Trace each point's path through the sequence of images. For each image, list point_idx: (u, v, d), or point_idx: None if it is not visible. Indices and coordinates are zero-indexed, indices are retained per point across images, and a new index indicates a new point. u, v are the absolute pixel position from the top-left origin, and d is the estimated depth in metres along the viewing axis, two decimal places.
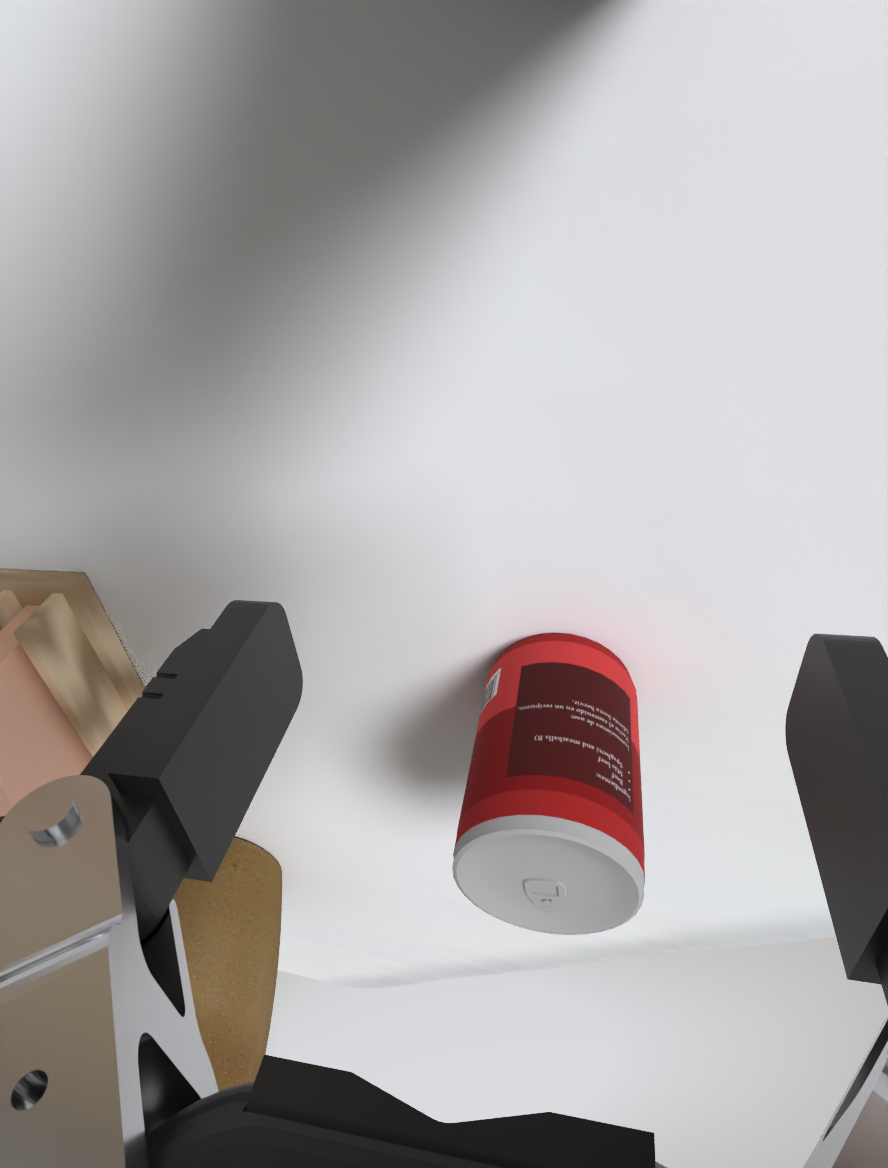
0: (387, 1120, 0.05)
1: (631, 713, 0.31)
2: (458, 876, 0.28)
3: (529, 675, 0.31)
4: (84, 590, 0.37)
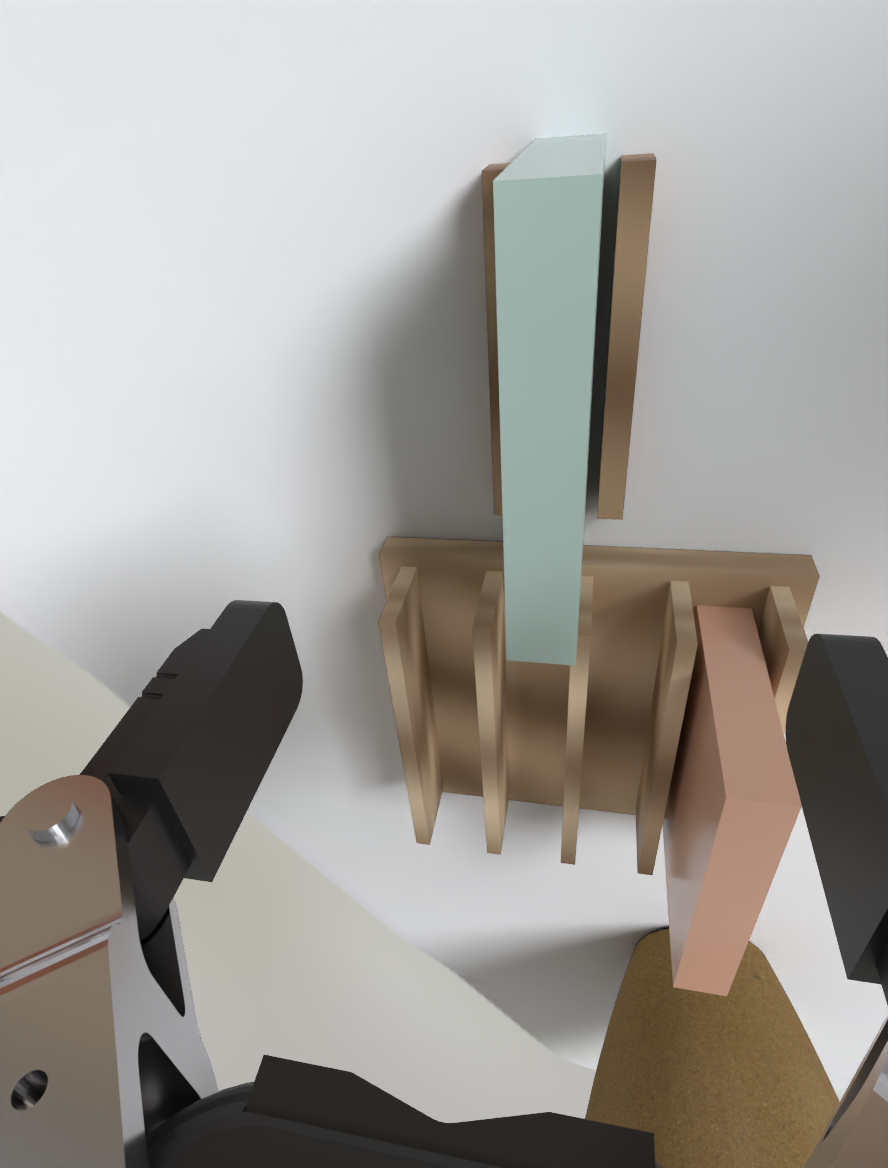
0: (387, 1120, 0.05)
1: None
2: None
3: None
4: None
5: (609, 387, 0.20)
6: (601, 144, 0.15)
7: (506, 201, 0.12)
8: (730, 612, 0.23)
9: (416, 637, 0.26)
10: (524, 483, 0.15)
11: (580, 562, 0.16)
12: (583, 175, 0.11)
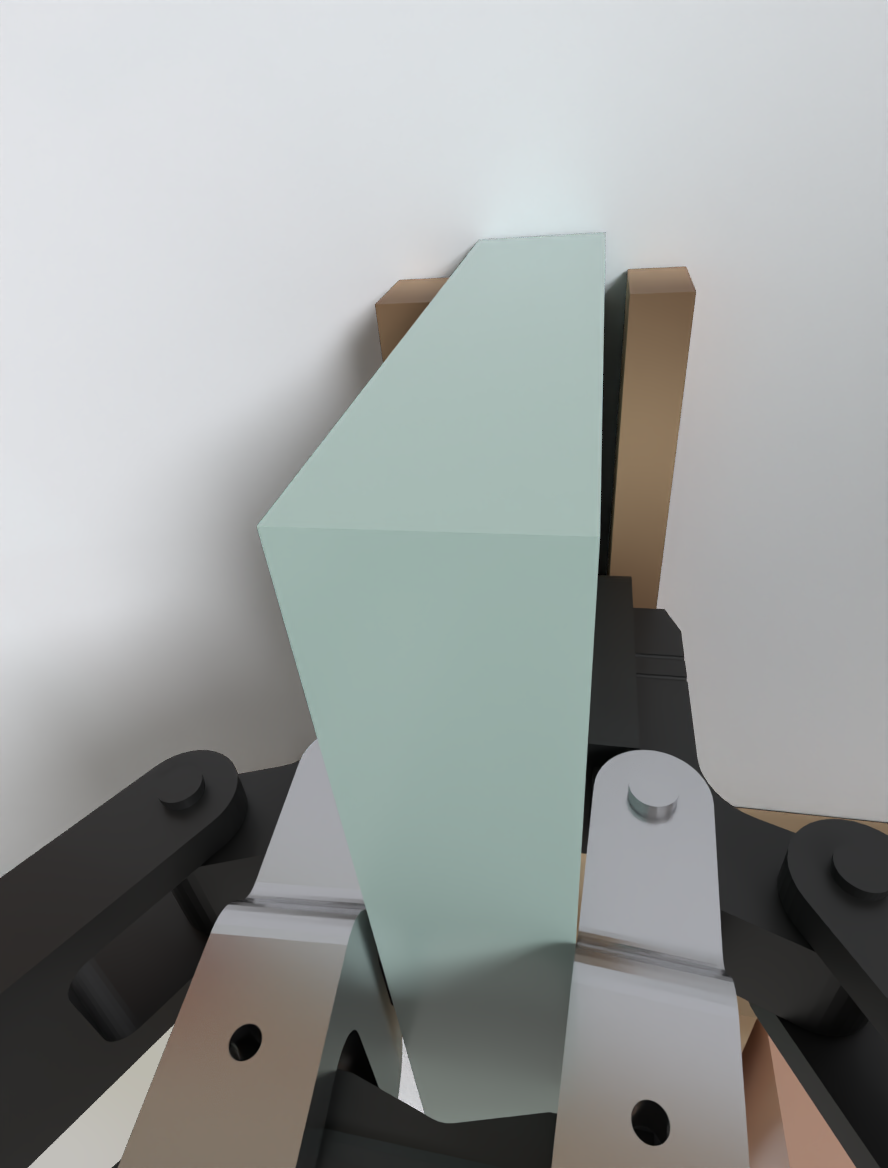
0: (387, 1119, 0.05)
1: None
2: None
3: None
4: None
5: None
6: (596, 282, 0.07)
7: (307, 576, 0.04)
8: None
9: None
10: (440, 1010, 0.07)
11: None
12: (536, 533, 0.03)
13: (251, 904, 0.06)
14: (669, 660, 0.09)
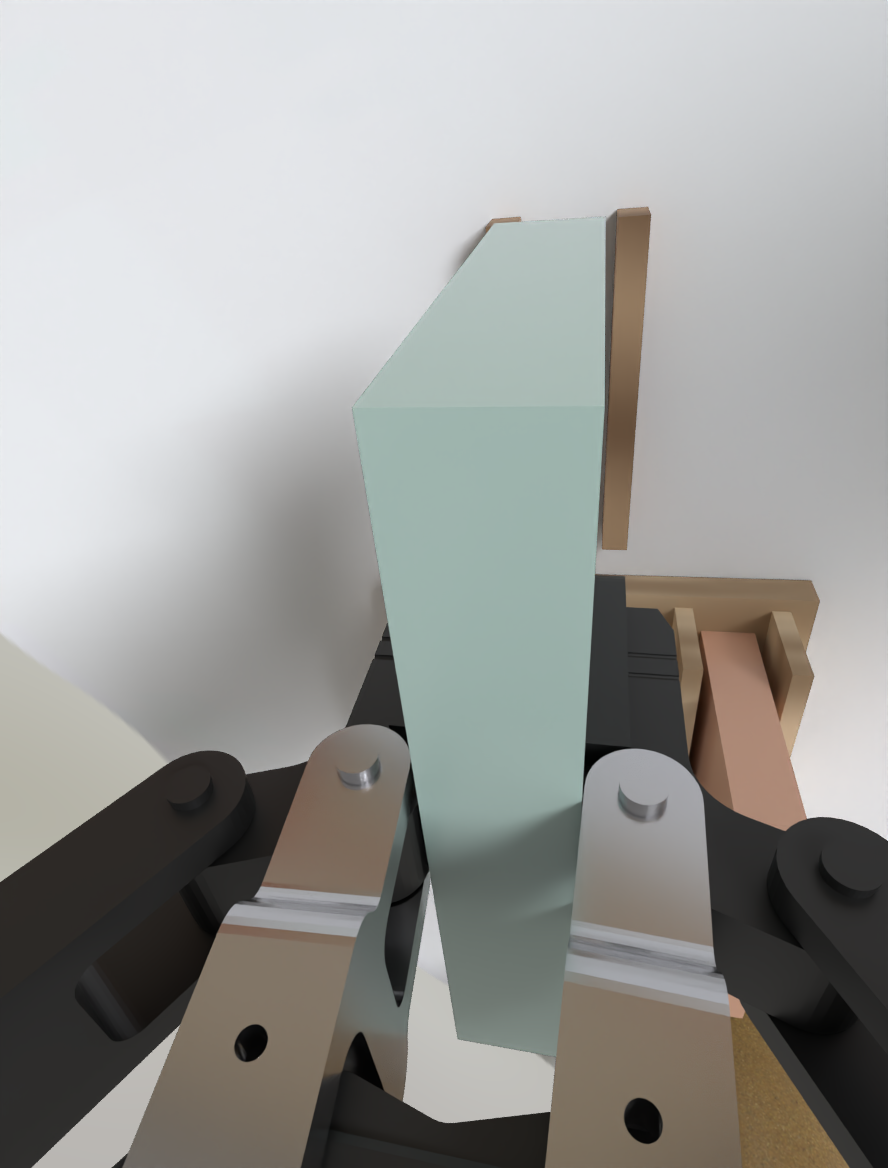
0: (387, 1119, 0.05)
1: None
2: None
3: None
4: None
5: (611, 425, 0.20)
6: (598, 253, 0.09)
7: (386, 448, 0.05)
8: (734, 637, 0.24)
9: None
10: (468, 862, 0.08)
11: None
12: (558, 406, 0.05)
13: (258, 904, 0.06)
14: (662, 659, 0.09)
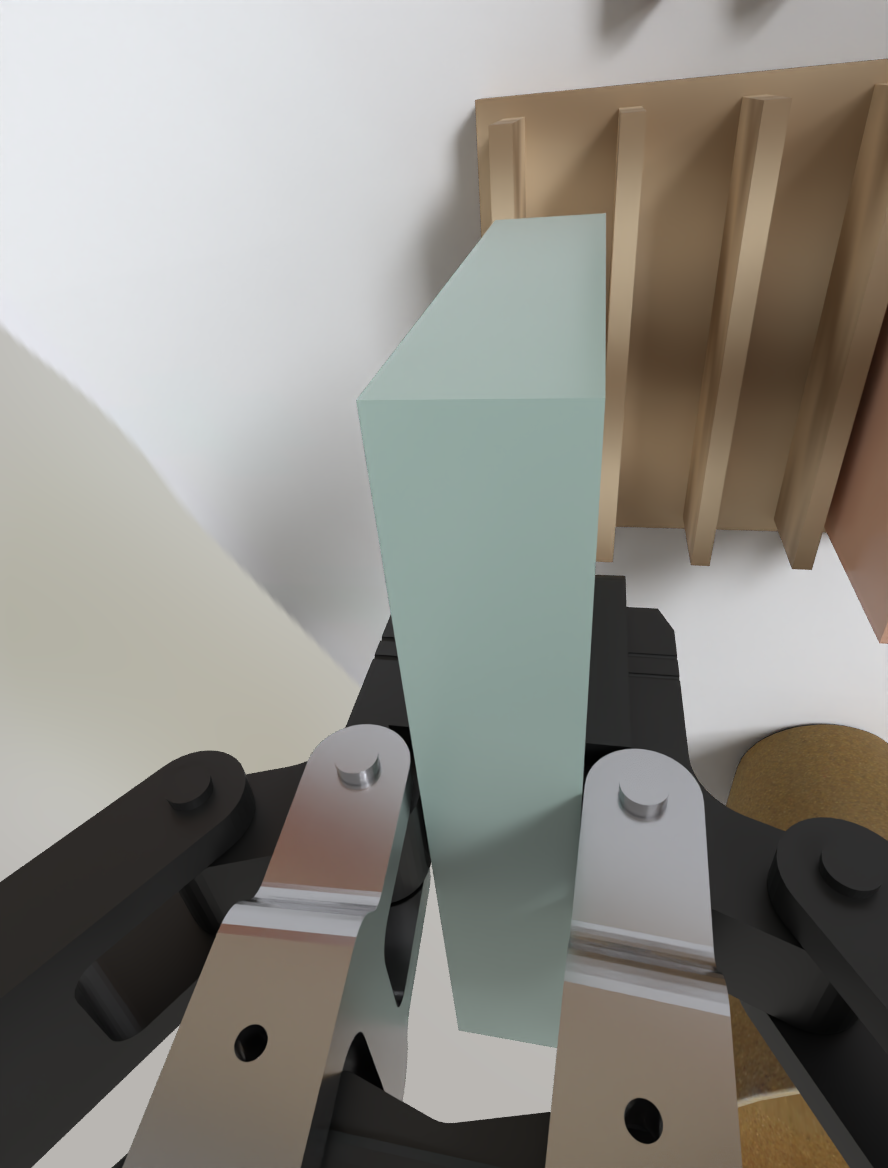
0: (387, 1120, 0.05)
1: None
2: None
3: None
4: None
5: None
6: (598, 249, 0.09)
7: (390, 440, 0.05)
8: None
9: None
10: (468, 853, 0.08)
11: None
12: (559, 398, 0.05)
13: (257, 904, 0.06)
14: (662, 659, 0.09)
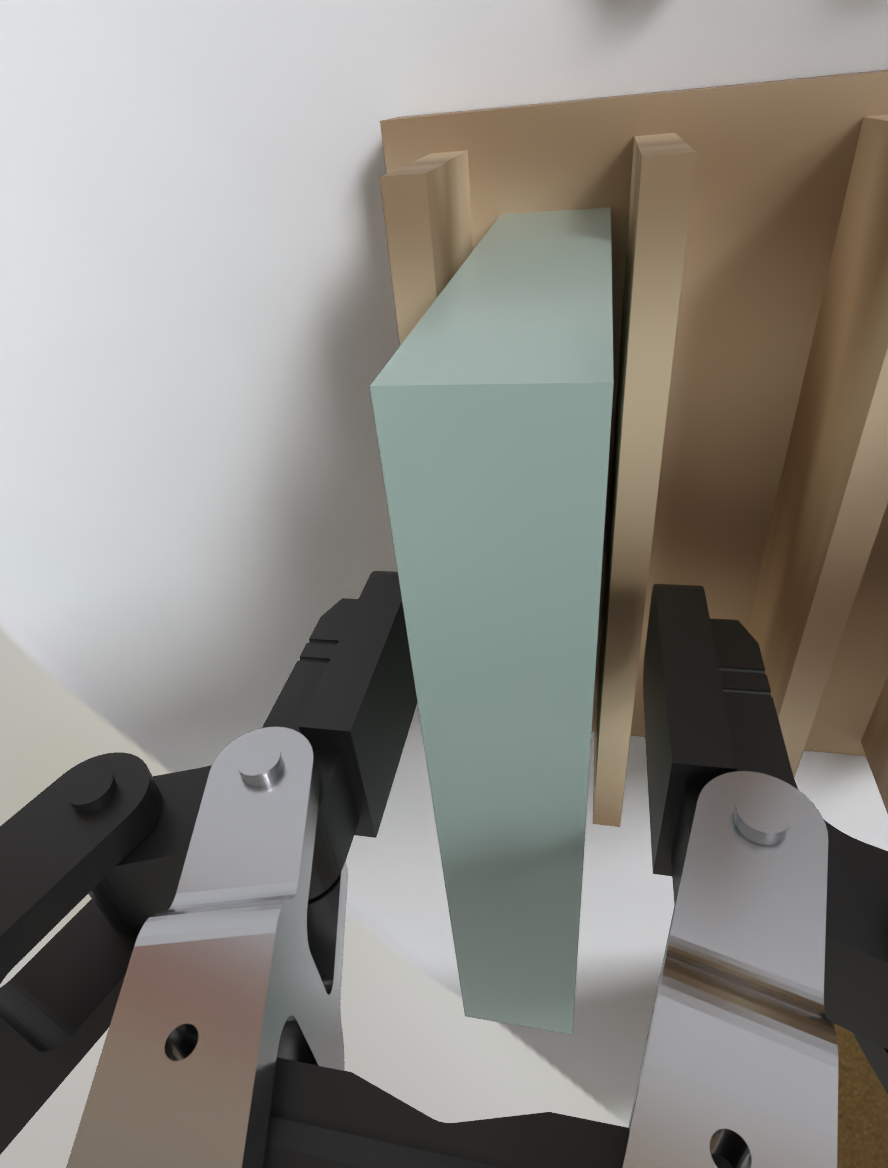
0: (387, 1119, 0.05)
1: None
2: None
3: None
4: None
5: None
6: (604, 241, 0.09)
7: (402, 425, 0.05)
8: None
9: None
10: (477, 837, 0.08)
11: (576, 934, 0.09)
12: (569, 383, 0.05)
13: (173, 913, 0.06)
14: (750, 673, 0.09)
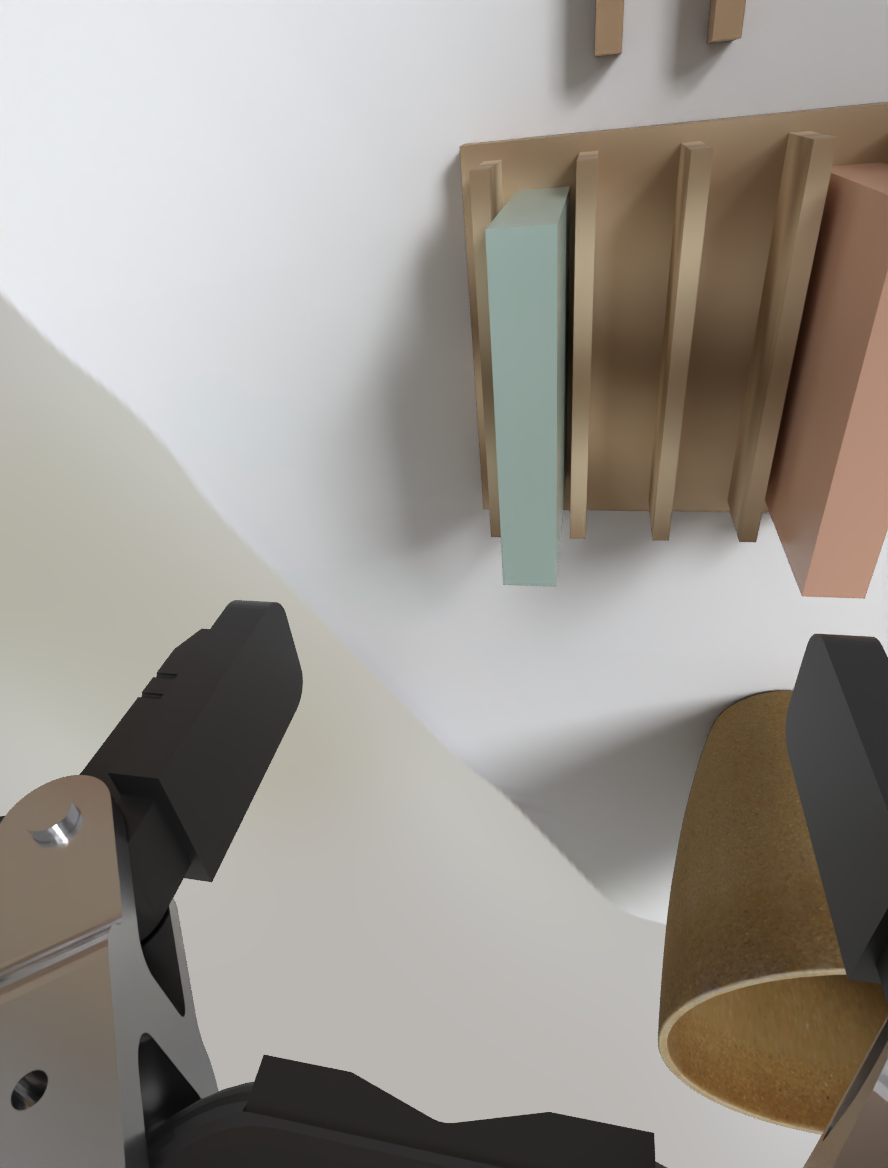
0: (387, 1120, 0.05)
1: None
2: None
3: None
4: None
5: None
6: (563, 197, 0.21)
7: (494, 242, 0.17)
8: (856, 165, 0.21)
9: None
10: (512, 441, 0.20)
11: (555, 501, 0.21)
12: (544, 225, 0.17)
13: None
14: None
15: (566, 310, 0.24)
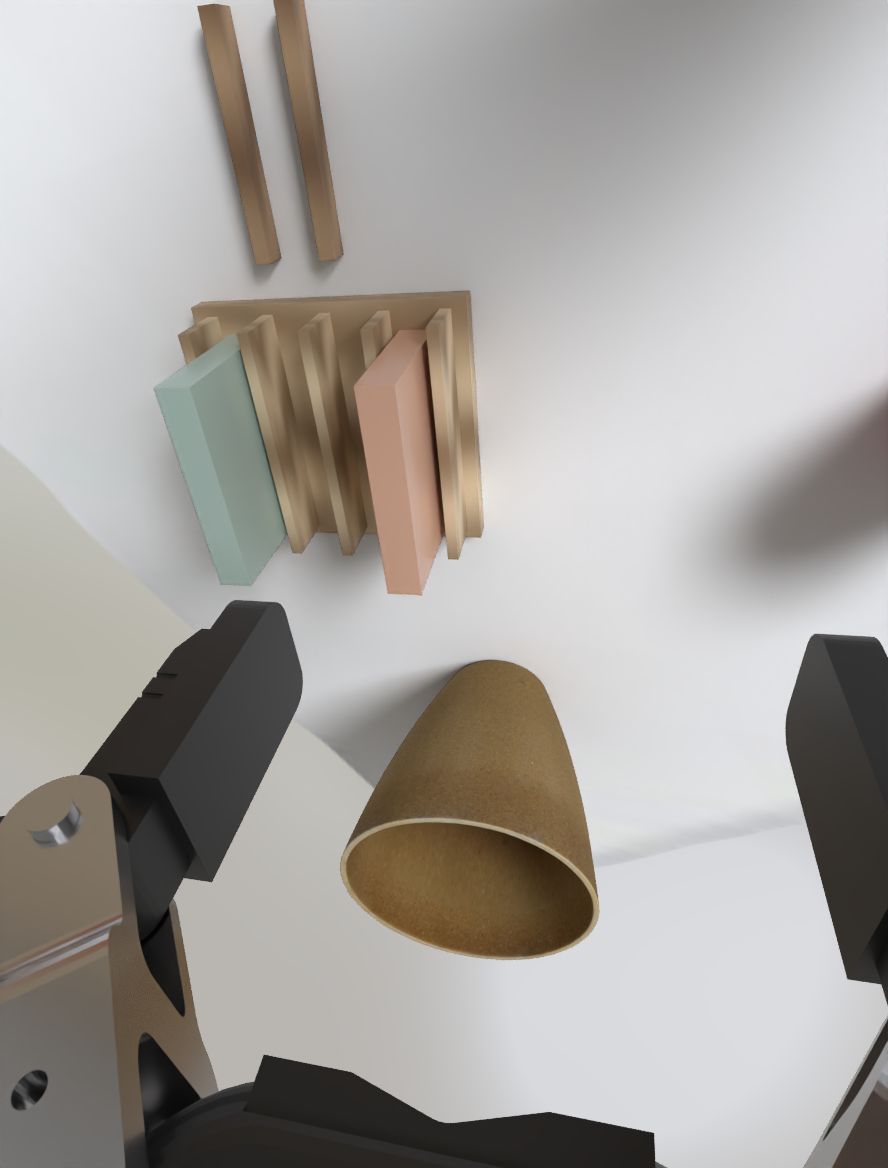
0: (387, 1119, 0.05)
1: None
2: None
3: None
4: (469, 309, 0.34)
5: (302, 155, 0.31)
6: (237, 350, 0.34)
7: (160, 394, 0.31)
8: (417, 331, 0.35)
9: None
10: (200, 499, 0.34)
11: (234, 534, 0.35)
12: (183, 387, 0.30)
13: None
14: None
15: None
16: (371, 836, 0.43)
